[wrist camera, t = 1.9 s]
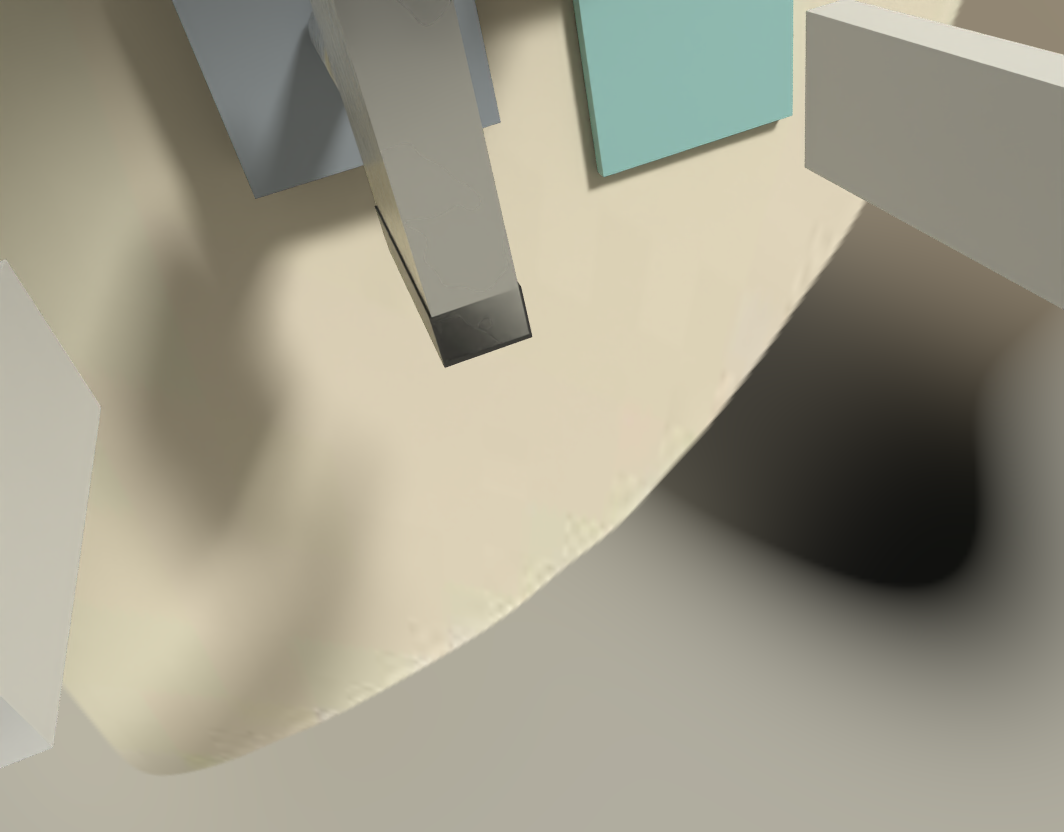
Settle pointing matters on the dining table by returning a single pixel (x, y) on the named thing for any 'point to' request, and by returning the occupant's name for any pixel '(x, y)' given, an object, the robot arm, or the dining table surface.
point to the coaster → (681, 73)
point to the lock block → (291, 87)
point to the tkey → (426, 165)
